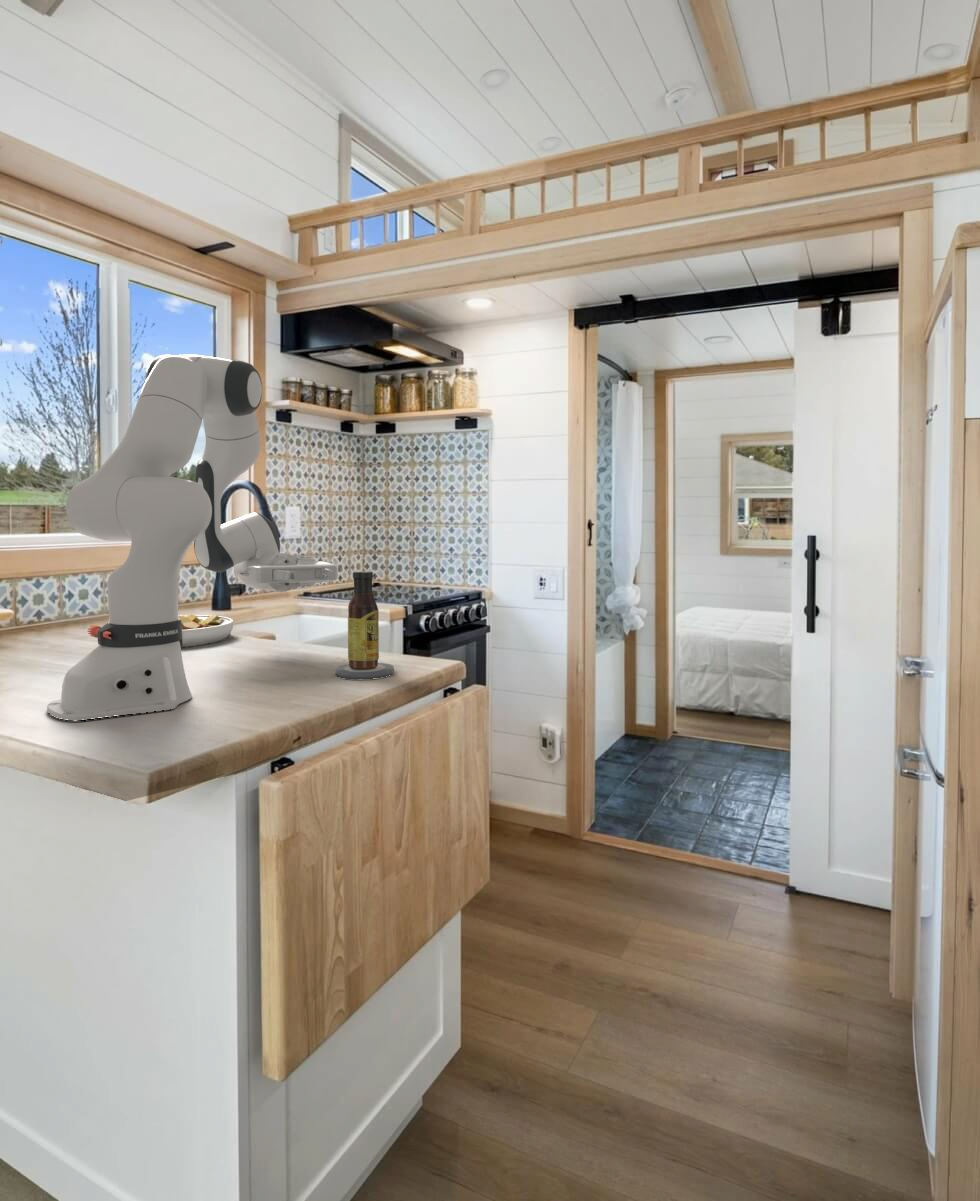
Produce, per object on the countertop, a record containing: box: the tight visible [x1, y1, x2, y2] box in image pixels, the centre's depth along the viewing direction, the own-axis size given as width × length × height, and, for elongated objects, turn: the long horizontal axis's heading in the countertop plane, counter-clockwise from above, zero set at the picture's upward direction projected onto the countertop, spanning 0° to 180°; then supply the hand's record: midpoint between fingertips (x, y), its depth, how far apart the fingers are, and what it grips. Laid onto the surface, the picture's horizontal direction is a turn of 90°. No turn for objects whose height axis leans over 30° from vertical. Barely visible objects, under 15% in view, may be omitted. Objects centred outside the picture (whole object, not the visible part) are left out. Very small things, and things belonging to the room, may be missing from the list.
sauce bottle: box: [347, 570, 380, 670], centre depth 157 cm, size 6×6×20 cm
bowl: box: [178, 613, 234, 648], centre depth 199 cm, size 30×30×8 cm
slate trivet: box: [334, 662, 395, 680], centre depth 158 cm, size 12×12×1 cm
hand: (311, 574), depth 165 cm, fingers open, 8 cm apart
